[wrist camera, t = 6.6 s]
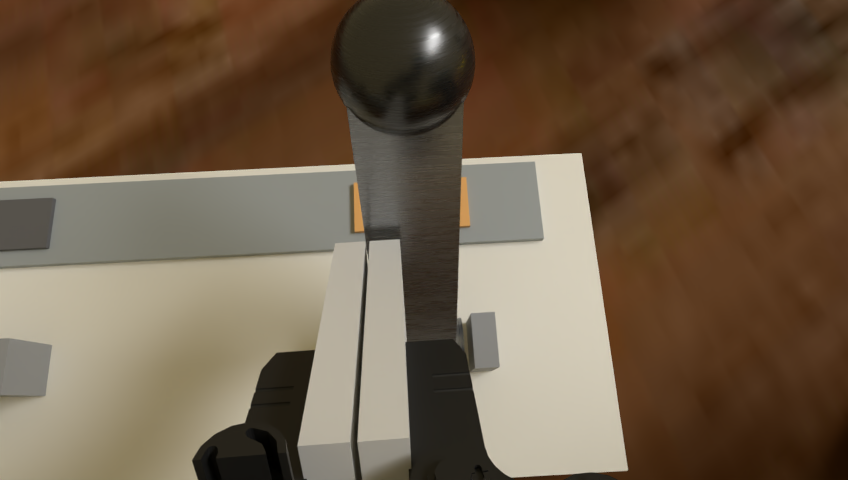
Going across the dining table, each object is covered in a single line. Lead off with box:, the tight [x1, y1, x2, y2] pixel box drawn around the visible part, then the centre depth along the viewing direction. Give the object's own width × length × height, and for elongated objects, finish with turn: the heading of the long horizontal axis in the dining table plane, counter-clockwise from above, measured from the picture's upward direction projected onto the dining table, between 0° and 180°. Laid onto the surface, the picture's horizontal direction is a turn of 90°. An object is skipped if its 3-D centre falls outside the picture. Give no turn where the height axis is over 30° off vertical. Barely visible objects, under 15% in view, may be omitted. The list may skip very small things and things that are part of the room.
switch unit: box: [0, 153, 628, 480], centre depth 22 cm, size 30×12×7 cm, turn 93°
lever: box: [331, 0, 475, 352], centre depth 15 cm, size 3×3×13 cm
